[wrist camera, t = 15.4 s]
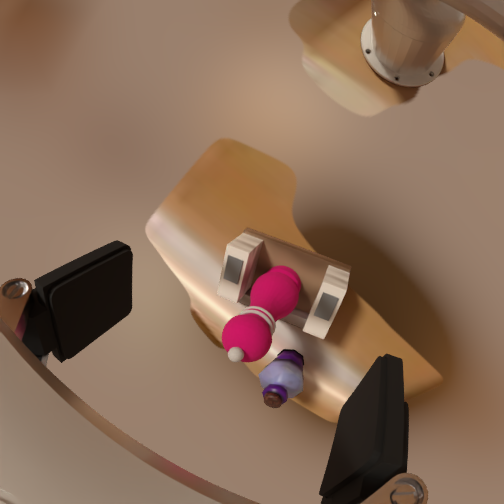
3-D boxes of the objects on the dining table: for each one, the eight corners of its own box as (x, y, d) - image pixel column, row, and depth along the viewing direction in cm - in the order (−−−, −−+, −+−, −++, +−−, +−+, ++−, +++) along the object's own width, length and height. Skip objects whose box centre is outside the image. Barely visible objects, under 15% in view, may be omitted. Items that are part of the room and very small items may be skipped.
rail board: (247, 227, 49) (227, 241, 42) (351, 266, 44) (348, 288, 38) (233, 287, 54) (213, 307, 47) (325, 324, 50) (317, 351, 43)
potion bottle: (262, 349, 57) (238, 389, 46) (298, 337, 52) (280, 380, 42) (283, 379, 58) (264, 420, 47) (319, 369, 53) (305, 414, 43)
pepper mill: (312, 293, 47) (276, 377, 29) (275, 307, 50) (226, 386, 33) (290, 255, 46) (241, 324, 29) (254, 272, 49) (192, 340, 32)
